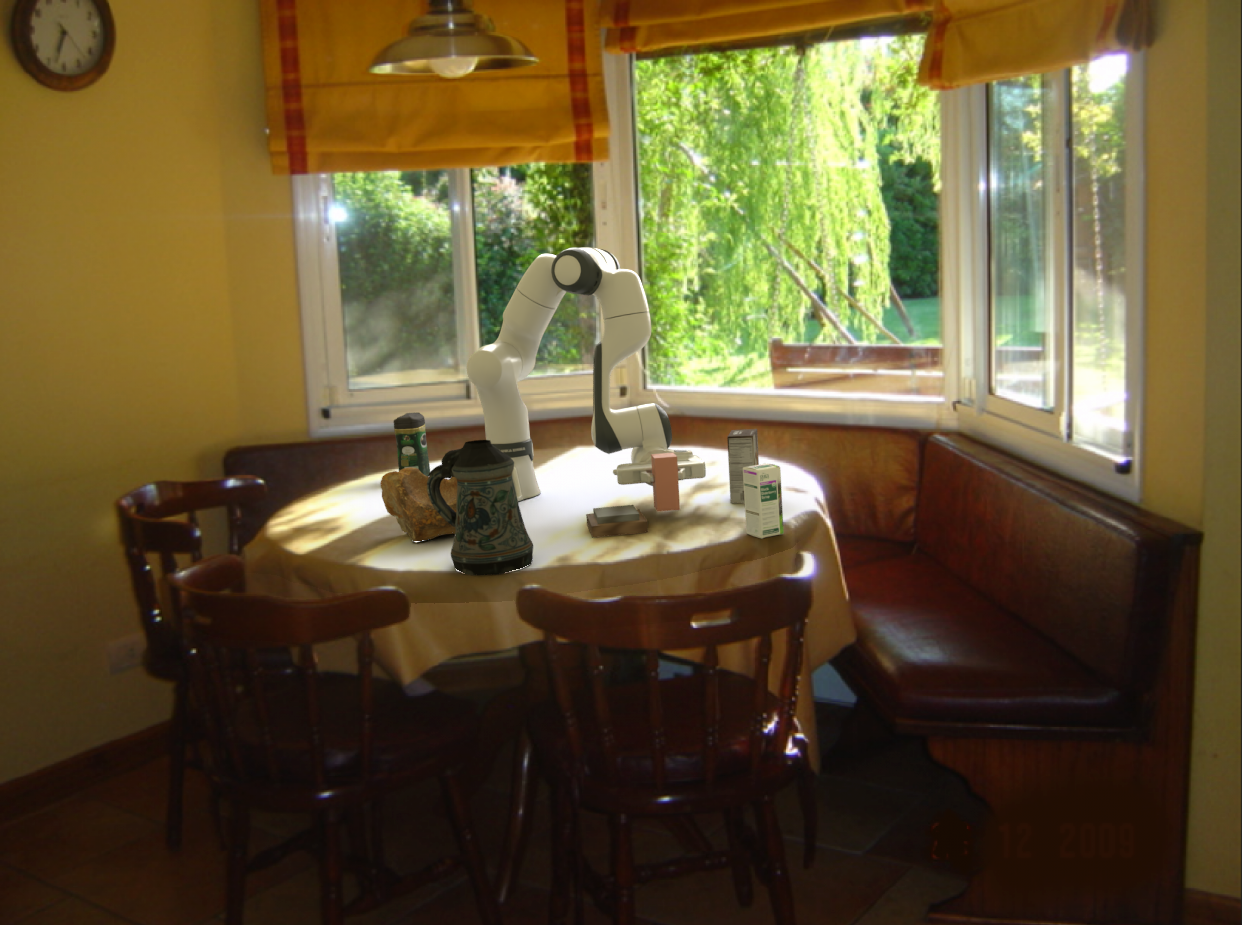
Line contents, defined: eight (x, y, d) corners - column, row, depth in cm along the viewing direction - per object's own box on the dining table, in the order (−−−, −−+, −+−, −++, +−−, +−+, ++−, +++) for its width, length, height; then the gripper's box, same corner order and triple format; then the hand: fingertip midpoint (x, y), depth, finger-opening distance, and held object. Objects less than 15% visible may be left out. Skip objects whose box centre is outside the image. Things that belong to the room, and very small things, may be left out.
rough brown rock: (374, 553, 257) (368, 486, 253) (387, 528, 273) (382, 465, 269) (482, 549, 257) (478, 482, 253) (488, 524, 273) (485, 462, 269)
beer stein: (542, 569, 232) (532, 443, 228) (443, 583, 227) (431, 454, 222) (524, 549, 248) (515, 431, 243) (431, 562, 243) (420, 441, 238)
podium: (592, 537, 254) (591, 519, 253) (586, 524, 266) (585, 507, 265) (648, 532, 256) (646, 514, 255) (639, 520, 267) (638, 502, 267)
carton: (657, 511, 262) (654, 458, 260) (654, 506, 267) (651, 454, 265) (679, 509, 263) (677, 456, 261) (675, 504, 268) (673, 452, 266)
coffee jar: (407, 475, 338) (400, 411, 335) (433, 475, 337) (427, 410, 334) (395, 483, 329) (388, 416, 325) (422, 482, 328) (416, 415, 324)
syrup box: (761, 539, 244) (758, 469, 242) (745, 533, 249) (742, 465, 247) (784, 534, 247) (781, 465, 244) (767, 529, 252) (765, 462, 249)
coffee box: (734, 495, 287) (731, 429, 284) (760, 494, 285) (757, 428, 282) (729, 503, 278) (726, 435, 275) (757, 503, 277) (754, 435, 274)
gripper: (610, 457, 275) (618, 467, 261) (697, 449, 277) (709, 460, 264) (612, 483, 276) (620, 495, 262) (699, 476, 278) (711, 488, 265)
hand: (665, 478), depth 263 cm, fingers closed on carton, 5 cm apart
